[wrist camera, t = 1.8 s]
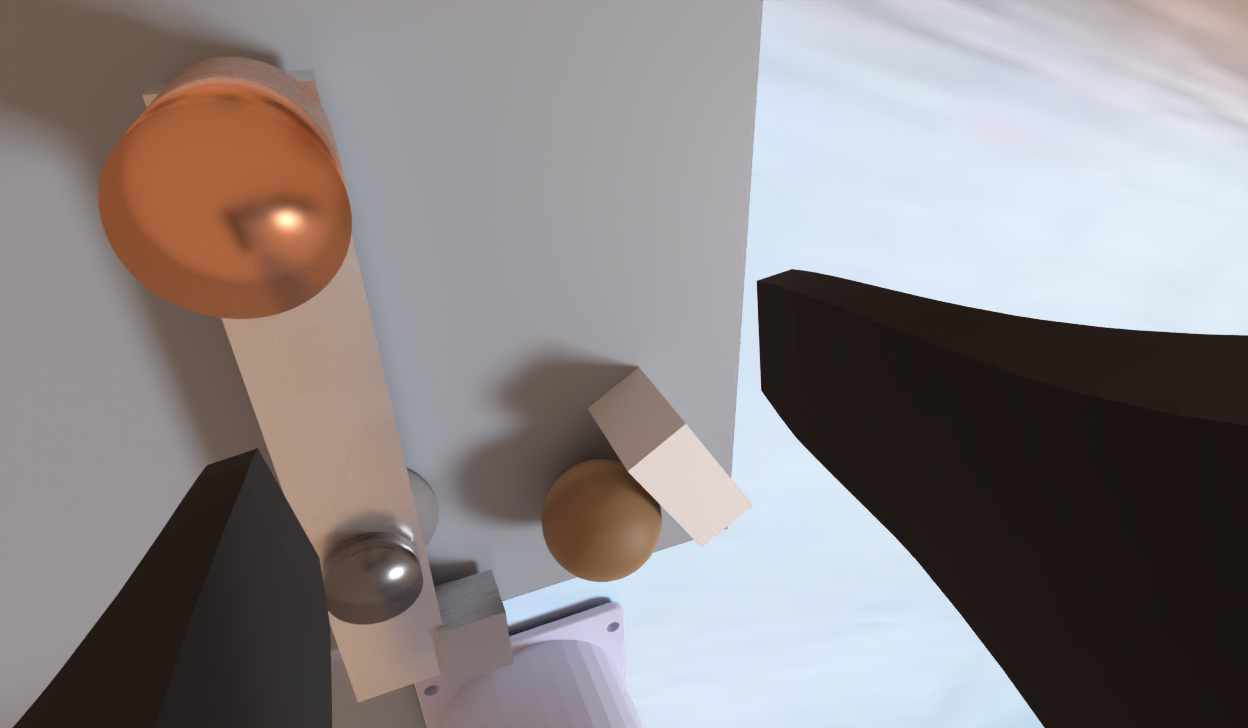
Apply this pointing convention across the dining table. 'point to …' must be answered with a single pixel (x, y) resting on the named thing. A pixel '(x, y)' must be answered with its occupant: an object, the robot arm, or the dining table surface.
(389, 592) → the lever
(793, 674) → the dining table surface
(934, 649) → the dining table surface
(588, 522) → the brown sphere
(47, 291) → the flat white platform
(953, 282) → the dining table surface
